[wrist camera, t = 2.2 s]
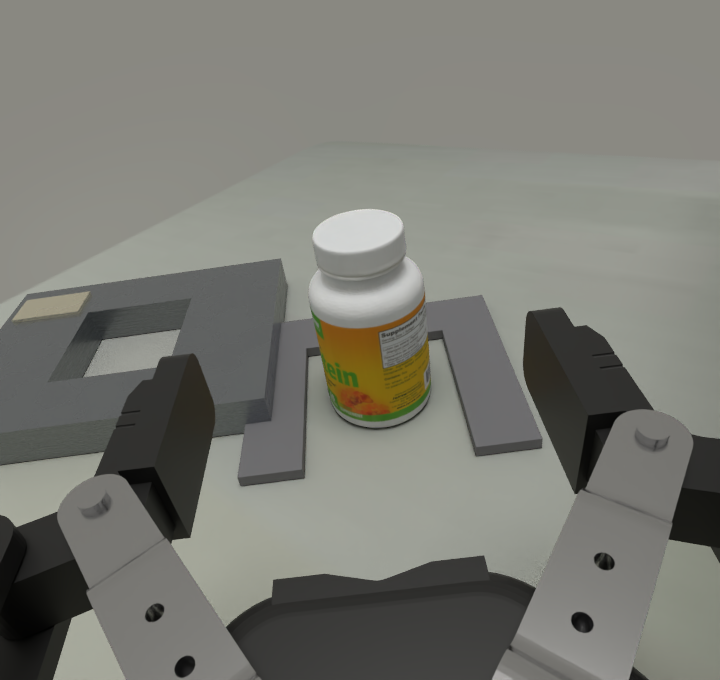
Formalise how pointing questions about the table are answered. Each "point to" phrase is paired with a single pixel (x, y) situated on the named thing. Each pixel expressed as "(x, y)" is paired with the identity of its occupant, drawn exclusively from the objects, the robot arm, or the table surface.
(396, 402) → the supplement bottle
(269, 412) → the socket block
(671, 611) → the table surface
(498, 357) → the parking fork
